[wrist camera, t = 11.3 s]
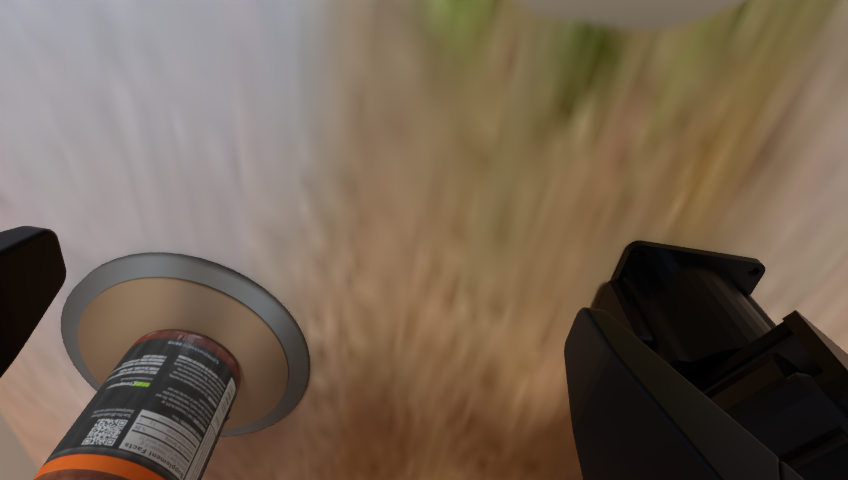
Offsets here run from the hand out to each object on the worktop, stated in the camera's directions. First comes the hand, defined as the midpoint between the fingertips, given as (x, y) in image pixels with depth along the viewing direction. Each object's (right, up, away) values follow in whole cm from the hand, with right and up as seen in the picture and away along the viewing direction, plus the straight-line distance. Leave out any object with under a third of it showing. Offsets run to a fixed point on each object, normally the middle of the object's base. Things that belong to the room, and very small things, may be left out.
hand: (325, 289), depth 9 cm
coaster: (-11, -5, +19) cm, 22 cm away
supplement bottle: (-11, -6, +18) cm, 22 cm away
